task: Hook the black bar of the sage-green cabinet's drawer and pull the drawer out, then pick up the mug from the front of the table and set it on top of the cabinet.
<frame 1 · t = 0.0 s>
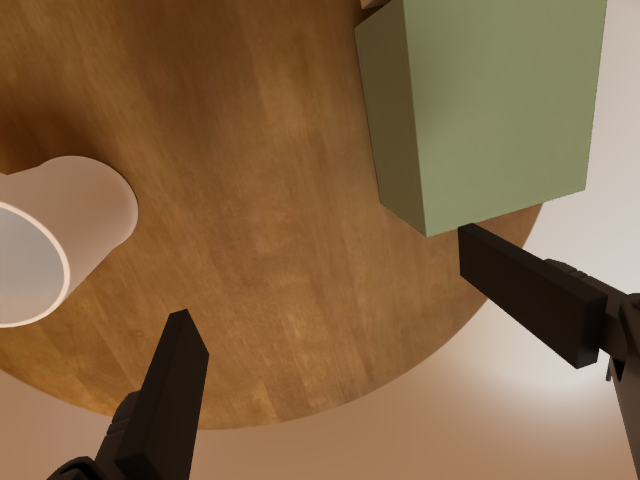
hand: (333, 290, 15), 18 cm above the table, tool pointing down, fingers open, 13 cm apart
mug: (68, 191, 28), on the table
drawer: (464, 33, 25), point 5 cm above the table, slide at 1.0 cm
cabinet: (436, 107, 31), on the table
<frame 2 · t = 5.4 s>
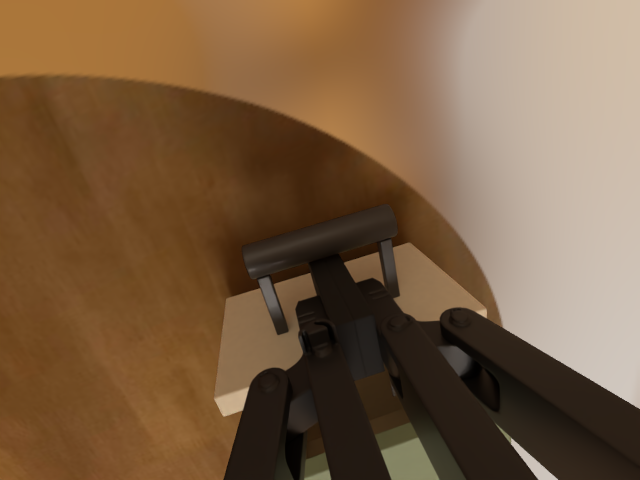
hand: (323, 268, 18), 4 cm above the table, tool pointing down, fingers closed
drawer: (350, 366, 20), point 5 cm above the table, slide at 4.3 cm, touching gripper
cabinet: (353, 397, 28), on the table
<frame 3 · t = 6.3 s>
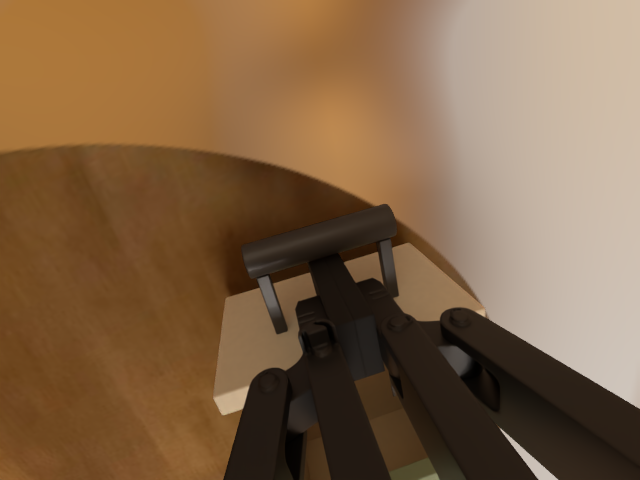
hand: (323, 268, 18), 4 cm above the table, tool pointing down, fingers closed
drawer: (349, 365, 20), point 5 cm above the table, slide at 7.7 cm, touching gripper
cabinet: (359, 423, 29), on the table
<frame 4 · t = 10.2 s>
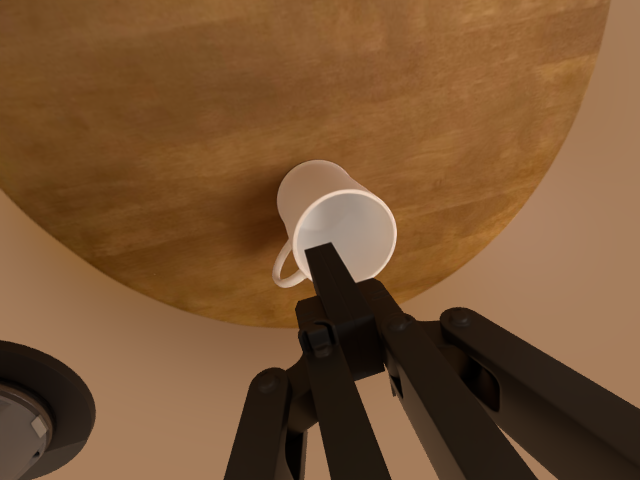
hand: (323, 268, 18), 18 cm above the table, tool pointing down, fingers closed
mug: (305, 209, 36), on the table
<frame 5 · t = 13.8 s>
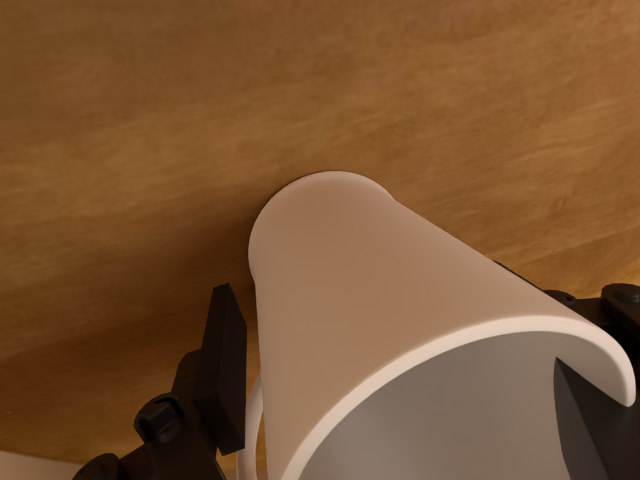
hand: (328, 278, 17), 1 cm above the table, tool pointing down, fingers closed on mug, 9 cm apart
mug: (307, 269, 18), on the table, touching gripper
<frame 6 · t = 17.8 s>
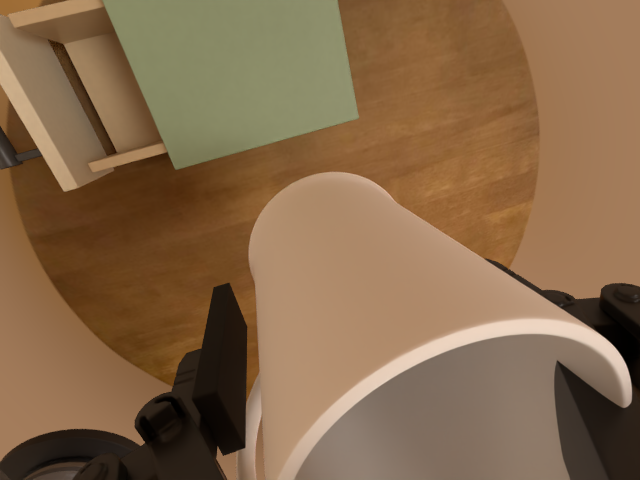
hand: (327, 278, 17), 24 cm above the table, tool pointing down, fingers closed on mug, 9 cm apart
mug: (307, 269, 18), point 22 cm above the table, touching gripper
drawer: (103, 94, 28), point 5 cm above the table, slide at 7.8 cm
cabinet: (243, 65, 33), on the table
when the fingers open (11 cm above the table, at t = 22.1 s): mug stays where it is, resting on cabinet.
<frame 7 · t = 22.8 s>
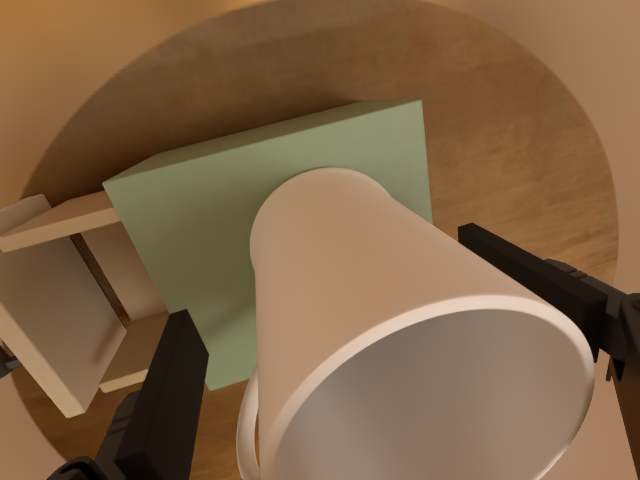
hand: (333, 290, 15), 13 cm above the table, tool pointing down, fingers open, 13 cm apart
mug: (306, 261, 19), point 10 cm above the table, touching cabinet
drawer: (118, 282, 22), point 5 cm above the table, slide at 7.8 cm
cabinet: (286, 211, 27), on the table
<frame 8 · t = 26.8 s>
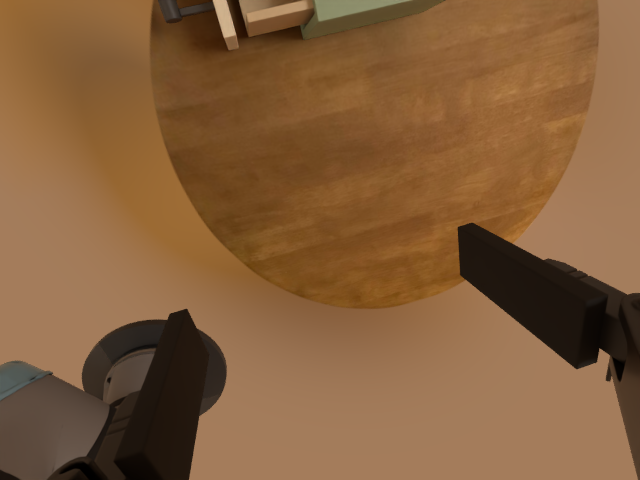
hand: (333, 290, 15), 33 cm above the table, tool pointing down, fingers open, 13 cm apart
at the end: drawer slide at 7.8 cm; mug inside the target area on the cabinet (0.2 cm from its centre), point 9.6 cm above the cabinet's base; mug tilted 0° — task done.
